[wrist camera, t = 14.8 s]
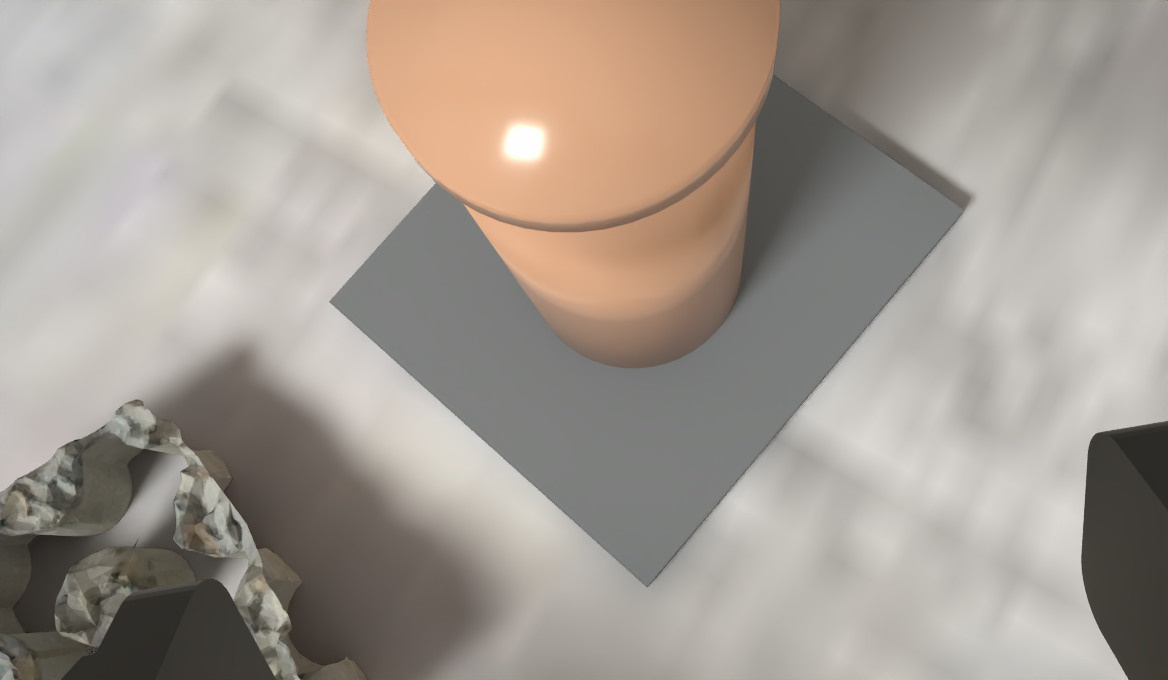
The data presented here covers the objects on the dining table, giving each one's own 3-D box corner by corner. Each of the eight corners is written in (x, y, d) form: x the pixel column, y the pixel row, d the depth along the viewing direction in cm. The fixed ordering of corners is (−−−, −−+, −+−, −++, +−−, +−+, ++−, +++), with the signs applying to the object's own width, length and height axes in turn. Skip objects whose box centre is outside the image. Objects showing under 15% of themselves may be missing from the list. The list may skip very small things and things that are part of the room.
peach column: (770, 354, 25) (818, 168, 13) (538, 394, 25) (387, 248, 14) (716, 74, 27) (716, -308, 15) (500, 116, 27) (338, -221, 15)
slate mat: (336, 306, 27) (329, 301, 27) (628, -19, 28) (626, -29, 28) (648, 586, 24) (646, 586, 24) (959, 216, 25) (964, 209, 25)
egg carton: (421, 746, 25) (364, 780, 21) (167, 929, 25) (61, 999, 21) (213, 397, 27) (127, 368, 23) (-17, 560, 27) (-142, 558, 23)
